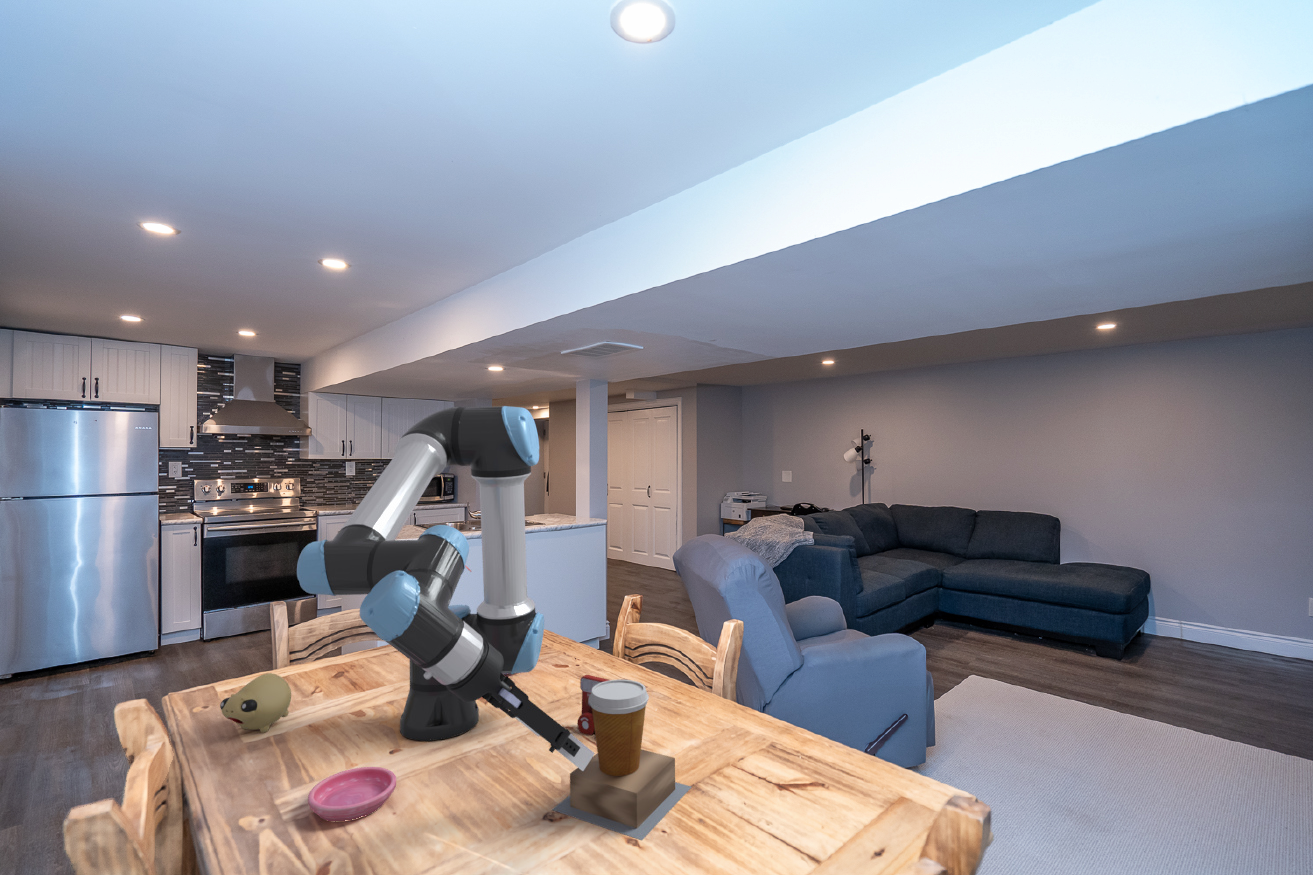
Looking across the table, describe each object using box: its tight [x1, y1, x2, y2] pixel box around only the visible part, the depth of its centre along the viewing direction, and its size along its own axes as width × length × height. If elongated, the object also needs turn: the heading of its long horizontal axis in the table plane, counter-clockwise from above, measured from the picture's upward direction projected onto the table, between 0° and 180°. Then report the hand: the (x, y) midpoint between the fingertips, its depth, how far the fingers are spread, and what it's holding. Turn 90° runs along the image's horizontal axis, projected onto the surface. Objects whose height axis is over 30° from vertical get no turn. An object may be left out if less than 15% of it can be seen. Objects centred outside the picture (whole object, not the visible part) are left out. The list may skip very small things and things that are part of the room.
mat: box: [551, 781, 692, 841], centre depth 98 cm, size 16×16×1 cm
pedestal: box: [569, 748, 676, 828], centre depth 98 cm, size 12×12×5 cm
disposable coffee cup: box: [589, 679, 650, 776], centre depth 98 cm, size 10×10×12 cm
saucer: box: [307, 766, 397, 823], centre depth 97 cm, size 12×12×3 cm
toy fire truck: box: [576, 674, 610, 736], centre depth 122 cm, size 7×12×10 cm, turn 58°
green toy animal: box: [219, 672, 292, 734], centre depth 125 cm, size 10×12×11 cm
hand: (564, 743), depth 92 cm, fingers open, 13 cm apart
